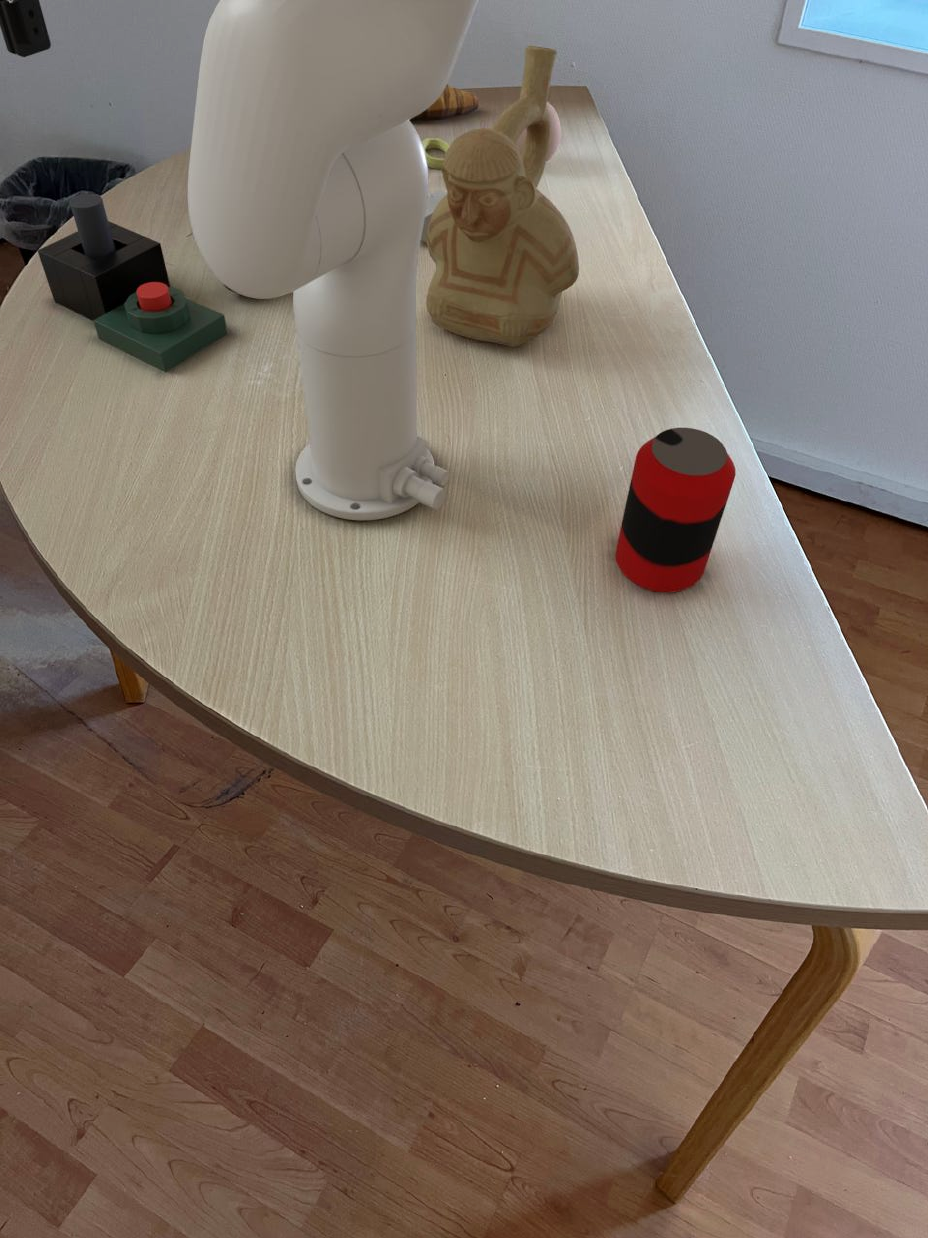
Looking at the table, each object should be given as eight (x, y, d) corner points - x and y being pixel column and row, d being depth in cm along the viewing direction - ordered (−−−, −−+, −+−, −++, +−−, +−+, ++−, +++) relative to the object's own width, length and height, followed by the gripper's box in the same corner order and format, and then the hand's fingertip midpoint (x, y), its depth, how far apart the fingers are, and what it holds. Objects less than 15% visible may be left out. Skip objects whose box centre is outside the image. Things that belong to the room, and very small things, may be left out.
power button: (178, 303, 96) (175, 288, 95) (155, 316, 95) (151, 301, 93) (156, 293, 98) (153, 278, 96) (133, 306, 96) (129, 291, 94)
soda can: (654, 519, 82) (682, 407, 73) (722, 566, 79) (760, 455, 69) (596, 558, 79) (618, 446, 70) (664, 609, 75) (696, 498, 66)
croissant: (469, 102, 143) (470, 66, 139) (485, 119, 139) (486, 82, 135) (385, 112, 140) (384, 75, 136) (399, 129, 136) (398, 92, 132)
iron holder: (172, 293, 104) (160, 242, 100) (110, 328, 99) (94, 276, 95) (117, 269, 108) (103, 218, 103) (54, 301, 103) (37, 250, 98)
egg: (554, 152, 132) (560, 88, 126) (561, 174, 127) (568, 109, 121) (504, 152, 131) (507, 88, 125) (509, 174, 127) (513, 109, 121)
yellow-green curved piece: (362, 156, 129) (361, 140, 128) (444, 145, 133) (444, 129, 131) (379, 178, 125) (379, 162, 123) (463, 166, 128) (464, 150, 127)
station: (227, 333, 100) (221, 299, 96) (165, 371, 95) (156, 337, 92) (162, 302, 103) (154, 269, 100) (98, 338, 98) (88, 304, 95)
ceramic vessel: (390, 340, 99) (381, 87, 81) (466, 259, 111) (474, 22, 92) (536, 383, 95) (563, 126, 76) (600, 294, 107) (636, 52, 88)
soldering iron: (134, 297, 104) (108, 199, 95) (112, 309, 102) (84, 210, 94) (114, 287, 105) (87, 190, 97) (92, 299, 103) (62, 201, 95)
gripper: (-169, -252, 65) (-64, 42, 79) (-34, -226, 60) (53, 85, 74) (-74, -261, 69) (10, 20, 83) (60, -237, 64) (125, 58, 78)
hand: (30, 50), depth 78 cm, fingers closed
